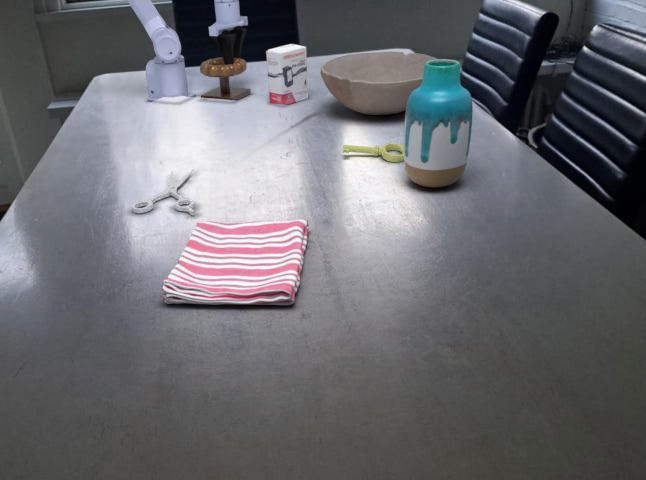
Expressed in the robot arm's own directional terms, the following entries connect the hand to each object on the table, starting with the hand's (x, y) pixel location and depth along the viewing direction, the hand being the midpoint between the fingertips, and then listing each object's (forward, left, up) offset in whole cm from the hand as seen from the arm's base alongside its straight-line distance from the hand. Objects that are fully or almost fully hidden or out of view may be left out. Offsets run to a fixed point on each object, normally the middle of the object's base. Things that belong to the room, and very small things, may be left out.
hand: (232, 62), depth 168 cm
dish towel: (+50, -81, -7) cm, 96 cm away
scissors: (+25, -62, -7) cm, 67 cm away
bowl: (+41, -5, -7) cm, 42 cm away
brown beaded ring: (0, -4, 0) cm, 4 cm away
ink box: (+17, -3, -7) cm, 19 cm away
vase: (+65, -43, -7) cm, 78 cm away
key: (+51, -33, -7) cm, 61 cm away
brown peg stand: (0, -4, -7) cm, 8 cm away
